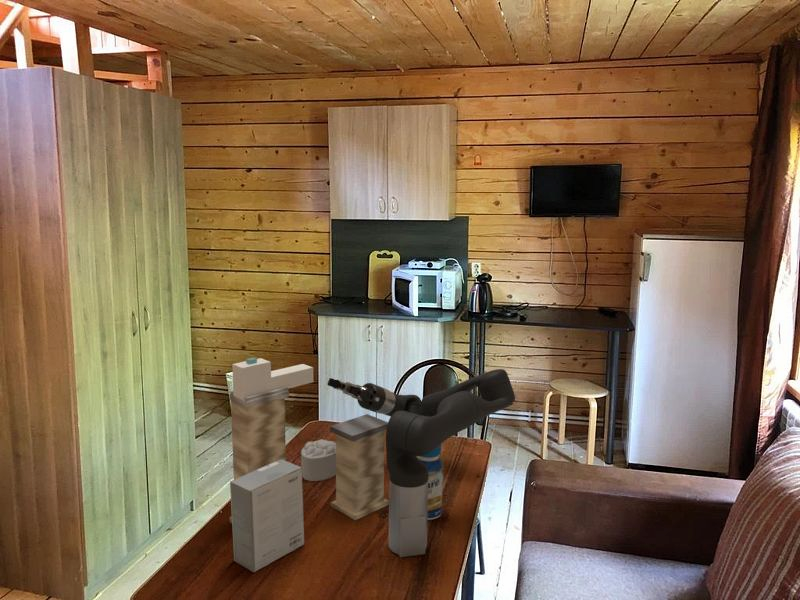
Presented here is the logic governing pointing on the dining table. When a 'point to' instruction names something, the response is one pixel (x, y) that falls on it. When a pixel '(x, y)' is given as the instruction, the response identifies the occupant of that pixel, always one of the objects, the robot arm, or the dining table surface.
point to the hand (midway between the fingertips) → (338, 385)
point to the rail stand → (258, 431)
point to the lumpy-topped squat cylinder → (318, 460)
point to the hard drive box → (267, 514)
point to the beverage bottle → (434, 482)
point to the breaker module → (266, 377)
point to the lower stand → (359, 466)
